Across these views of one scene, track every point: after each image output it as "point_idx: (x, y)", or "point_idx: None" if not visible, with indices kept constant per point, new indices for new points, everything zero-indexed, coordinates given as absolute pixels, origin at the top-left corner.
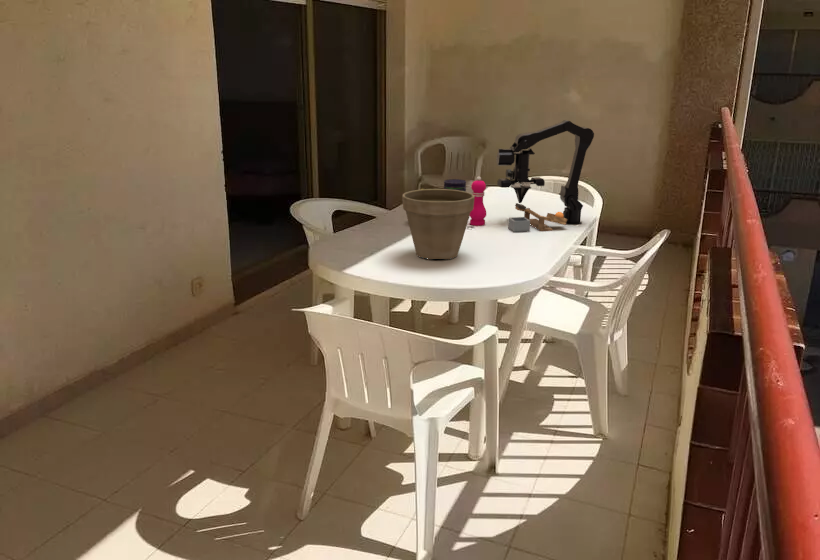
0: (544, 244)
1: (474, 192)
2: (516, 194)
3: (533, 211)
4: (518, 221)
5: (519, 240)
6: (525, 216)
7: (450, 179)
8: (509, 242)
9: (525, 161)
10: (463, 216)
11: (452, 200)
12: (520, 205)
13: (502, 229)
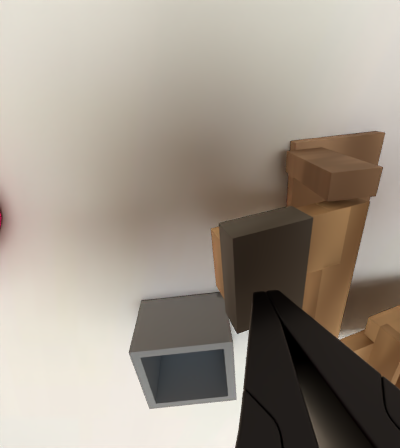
0: (224, 443)
1: None
2: (243, 408)
3: (353, 266)
4: (172, 405)
5: (159, 420)
6: (297, 178)
7: None
8: (123, 433)
9: None
10: None
11: None
12: (246, 330)
13: (111, 312)
